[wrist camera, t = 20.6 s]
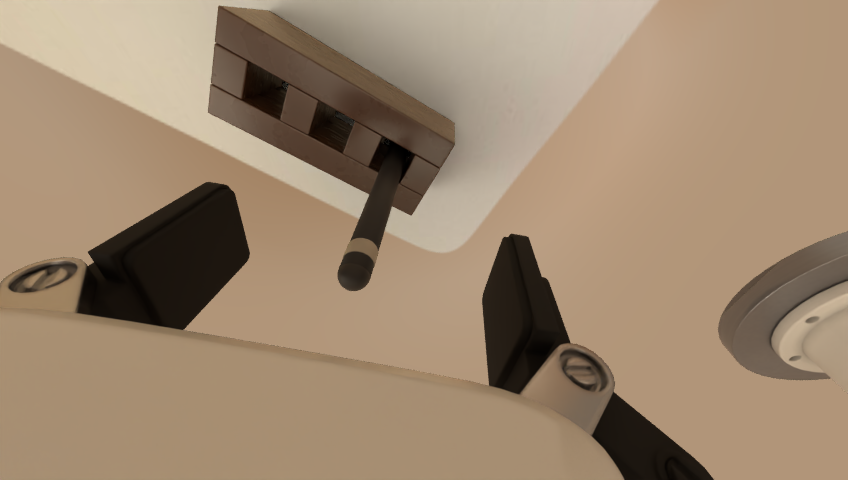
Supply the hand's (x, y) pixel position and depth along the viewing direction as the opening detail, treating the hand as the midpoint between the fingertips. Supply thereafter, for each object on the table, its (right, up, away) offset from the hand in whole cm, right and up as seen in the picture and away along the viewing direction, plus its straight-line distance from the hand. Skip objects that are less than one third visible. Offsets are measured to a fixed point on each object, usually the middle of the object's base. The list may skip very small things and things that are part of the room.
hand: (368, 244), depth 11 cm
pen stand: (-3, +9, +9) cm, 13 cm away
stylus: (+1, +7, +10) cm, 12 cm away
